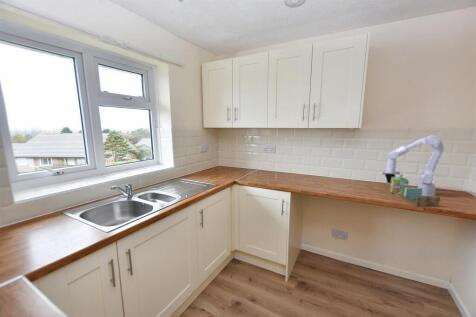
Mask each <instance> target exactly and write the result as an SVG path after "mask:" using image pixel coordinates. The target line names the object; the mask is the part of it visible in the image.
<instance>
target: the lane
mask: <svg viewBox="0 0 476 317" xmlns="http://www.w3.org/2000/svg"><path fill="white" fill-rule="evenodd" d="M394 197H396V198H398V199H400V200H403V201H404V200H405V201H404V202H406V201H407V202H406V203H409V204H410V205H412V206H415V207H439V206H440V199H441V197H440V196H421V197H417V199H409V198H407V197H405V196H404V195H400V194H398V193H395V194H394Z"/></svg>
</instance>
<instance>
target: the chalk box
mask: <svg viewBox="0 0 476 317" xmlns="http://www.w3.org/2000/svg"><path fill="white" fill-rule="evenodd" d="M403 176H404V175H403V174H401V173H400V176H399V177H398V176H395V177H391V183H389V192H390V194H392V195H395V193H398V194H400V195H403V196H404V191H405V188H409V181H410V180H408V179H407V178H406V177H403Z"/></svg>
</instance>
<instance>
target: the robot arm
mask: <svg viewBox="0 0 476 317" xmlns="http://www.w3.org/2000/svg"><path fill="white" fill-rule="evenodd" d="M442 142H443V141H442V139H441V138H440V137H439V136H437V135H434V134H430V135H428V136H425V137H422V138H420V139H418V140H416V141H414V142H412V143H410V144H409V145H400V146H399V147H398V148H396V149H393V150H392V151H390V152H388V154H387V161H386V168H385V171H380V172H379V173H380V175H384V176H385V179H386V183H387V184H390V183H391V177H396V175H401V171H396V168H397V158H398V157H401V156H403V155H405V154H407V153H409V151H410V150H411V149H414V148H416V147H418V146H422V145H428V144H429V145H430V146H431V147H432V149H433V151H432V153H431V155H430V158H429V160H428V163H427V165H426V167H425V169H424V170H423V172H422V173H421V174H420V176H419V179H420V180H419V181H418V186H417V188H423V189H422V195H421V196H424V197H437V196H436V189H437V186H436V184H435V183H433V181H434V180H433V177H434V173H435V170H436V167H437V165H438V163H439V162H440V159H441V157H442V154H443V152H444V149H445V148H444V145H443V143H442Z"/></svg>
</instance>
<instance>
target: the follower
mask: <svg viewBox="0 0 476 317" xmlns="http://www.w3.org/2000/svg"><path fill="white" fill-rule="evenodd" d="M422 189H423V188H418V187H408V188H405V191H404V195H403V196H405V197H407V198H409V199H412V200H416V199H417V197H421V195H422Z"/></svg>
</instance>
